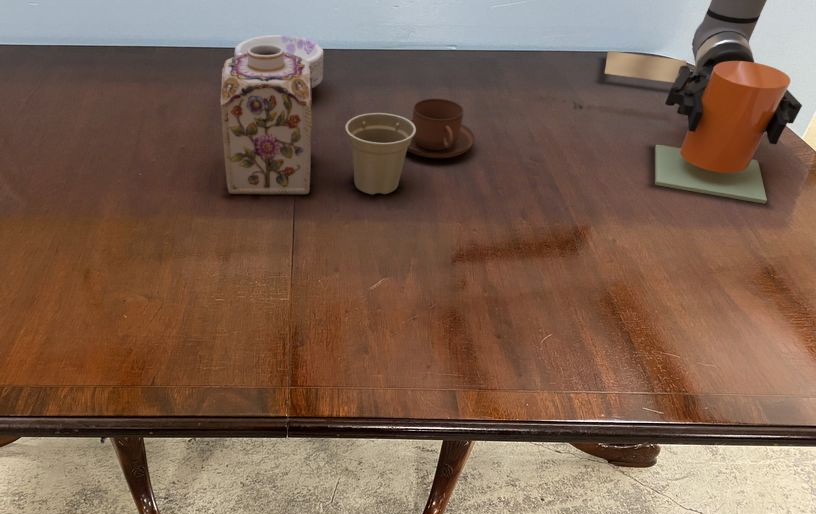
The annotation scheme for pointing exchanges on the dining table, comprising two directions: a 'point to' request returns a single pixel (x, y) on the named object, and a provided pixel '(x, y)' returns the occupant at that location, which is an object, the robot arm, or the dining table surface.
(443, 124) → the cup and saucer
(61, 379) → the dining table surface
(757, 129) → the canister
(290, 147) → the decorative jar
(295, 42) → the white floral bowl
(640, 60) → the board
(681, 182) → the mat
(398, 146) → the flower pot
